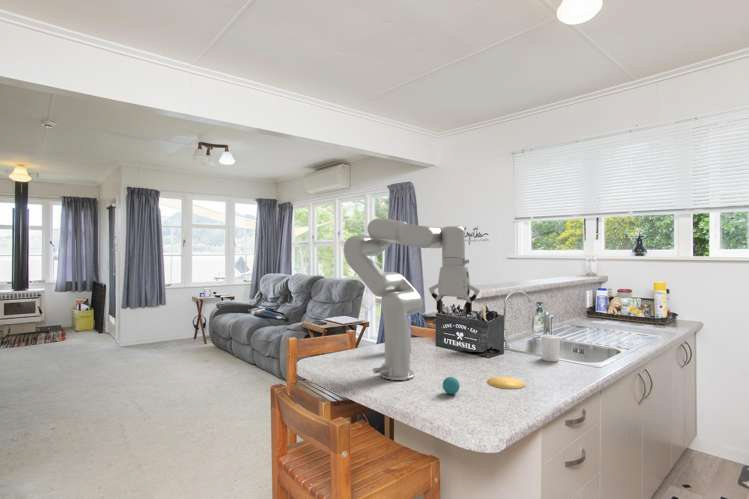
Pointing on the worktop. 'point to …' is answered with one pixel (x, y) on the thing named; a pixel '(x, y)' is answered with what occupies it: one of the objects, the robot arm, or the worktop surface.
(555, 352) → the white cup
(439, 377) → the worktop surface
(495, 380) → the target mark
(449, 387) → the ball
